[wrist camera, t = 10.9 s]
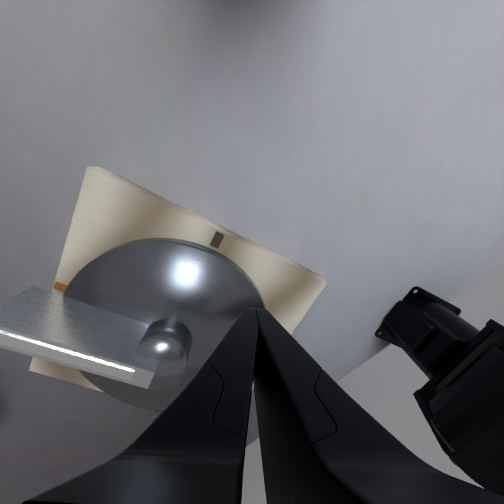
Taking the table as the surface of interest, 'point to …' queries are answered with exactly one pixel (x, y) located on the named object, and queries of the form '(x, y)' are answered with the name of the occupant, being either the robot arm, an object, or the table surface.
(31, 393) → the table surface
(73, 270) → the dial board
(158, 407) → the dial
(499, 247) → the table surface
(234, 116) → the table surface
